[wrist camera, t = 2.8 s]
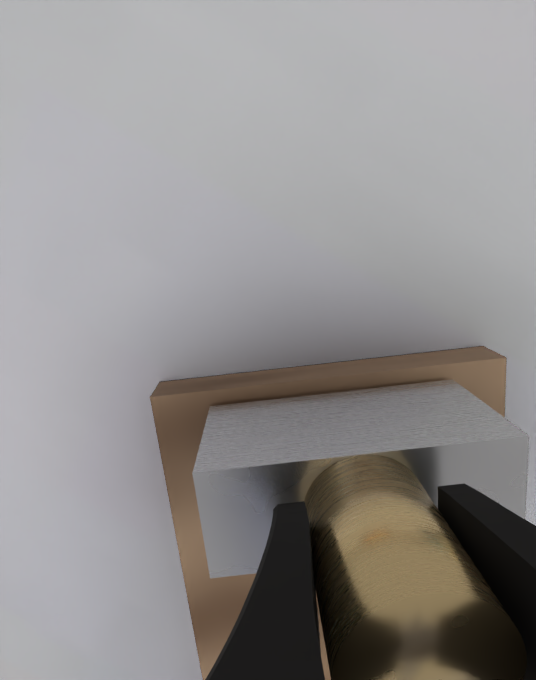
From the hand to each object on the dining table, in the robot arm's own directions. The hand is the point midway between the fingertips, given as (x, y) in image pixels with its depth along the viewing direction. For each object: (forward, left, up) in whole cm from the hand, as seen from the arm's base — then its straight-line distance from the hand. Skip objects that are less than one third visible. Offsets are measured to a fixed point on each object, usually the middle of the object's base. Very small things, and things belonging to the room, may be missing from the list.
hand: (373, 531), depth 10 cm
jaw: (0, 0, -5) cm, 5 cm away
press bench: (-8, 0, -7) cm, 11 cm away
